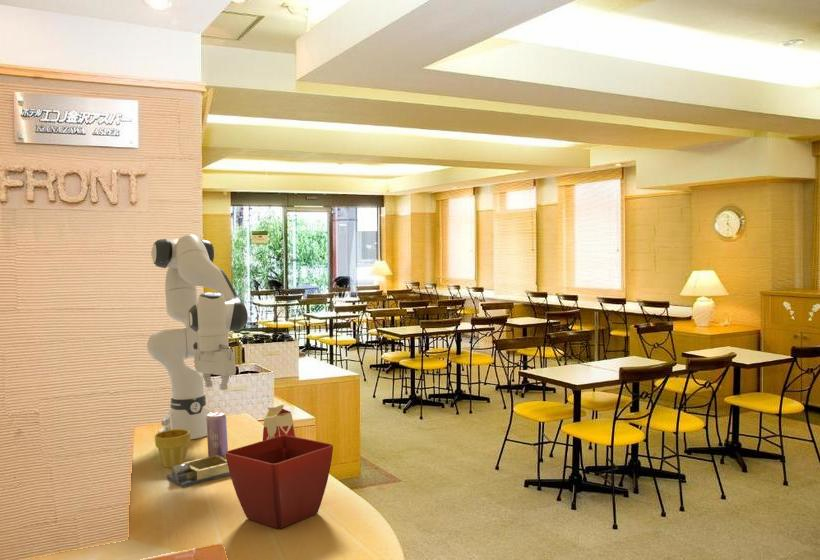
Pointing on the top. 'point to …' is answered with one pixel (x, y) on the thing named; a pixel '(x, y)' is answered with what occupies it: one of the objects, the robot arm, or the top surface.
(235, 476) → the plant pot
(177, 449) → the plant pot
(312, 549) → the top surface
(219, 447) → the beverage can
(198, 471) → the grey and tan tray
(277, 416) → the milk carton
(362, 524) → the top surface
